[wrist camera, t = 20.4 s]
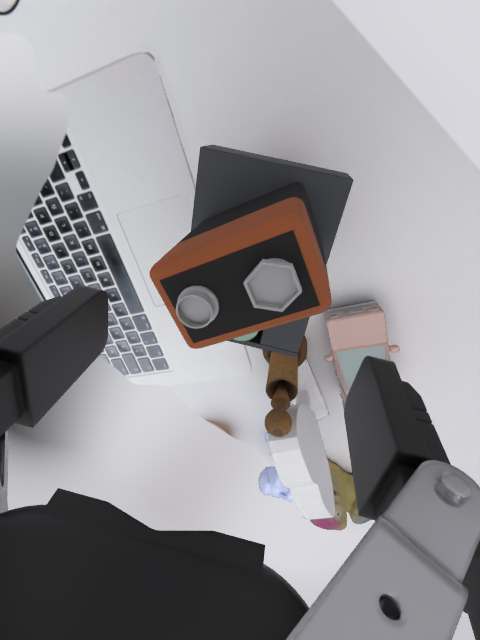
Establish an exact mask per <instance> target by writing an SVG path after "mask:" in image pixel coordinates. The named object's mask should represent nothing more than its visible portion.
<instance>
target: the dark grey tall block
mask: <svg viewBox="0 0 480 640" xmlns="http://www.w3.org/2000/svg"><path fill="white" fill-rule="evenodd" d="M293 182H299V183H301V184H303V186H304V188H305V191H306V194H307V197H308V200H309V203H310V206H311V209H312V212H313V215H314V218H315V221H316V224H317V227H318V230H319V233H320V237H321V240H322V243H323V249H324V255H325V261H326V264H327V261H328V258H329V255H330V251H331V248H332V245H333V242H334V239H335V236H336V233H337V230H338V226H339V223H340V220H341V217H342V214H343V211H344V208H345V204H346V201H347V198H348V195H349V192H350V189H351V186H352V183H353V179H352V178H351V177H350V176H349V175H348V174H347V173H343V172H338V171H334V170H329V169H324V168H319V167H315V166H310V165H305V164H301V163H296V162H291V161H287V160H282V159H277V158H272V157H268V156H263V155H258V154H254V153H249V152H244V151H240V150H235V149H230V148H226V147H221V146H216V145H209V146H203V147H201V148H200V155H199V164H198V173H197V182H196V191H195V200H194V209H193V218H192V227H191V231H192V230H193V229H195V228H196V227H197V226H198V225H199V224H200V223H201V222H202V221H204V220H206V219H208V218H210V217H212V216H215V215H217V214H219V213H222V212H224V211H226V210H229V209H231V208H234V207H236V206H238V205H241V204H243V203H245V202H248V201H250V200H253V199H255V198H257V197H260V196H262V195H264V194H267V193H269V192H271V191H274V190H276V189H279V188H281V187H283V186H286V185H288V184H291V183H293ZM309 317H310V316H309ZM309 317H305V318H302V319H299V320H295V321H292V322H288V323H285V324H281V325H278V326H275V327H271V328H268V329H264V330H261V331H258V333H257V335H256V336H255V337H254V338H252V339H250V340H247V341H238V340H235V339H230V340H227V341H231V342H235V343H239V344H243V345H247V346H251V347H256V348H260V349H264V350H268V351H272V352H276V353H280V354H284V355H289V356H293V357H297V355H298V352H299V349H300V346H301V342H302V339H303V336H304V333H305V330H306V327H307V324H308V320H309Z"/></svg>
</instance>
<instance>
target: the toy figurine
mask: <svg viewBox="0 0 480 640" xmlns="http://www.w3.org/2000/svg"><path fill="white" fill-rule="evenodd" d="M265 440H266V441H267V442H268V432H267V433H266V434H265ZM259 488H260V491H261V492H262V493H263V494H264V495H270V496H272V497H276V498H283V499H284V500H287V501H289V502H291V501H293V498H292V494H291V491H290V488H287V487H285V486H284V485H283V483H282V481H281V479H280V477H279V475H278V473H277V470H276V468H275V466H272V467H271V466H270V467H266V468H265V469H264V470H263V471H262V472H261V474H260V476H259Z"/></svg>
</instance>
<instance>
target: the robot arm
mask: <svg viewBox="0 0 480 640" xmlns="http://www.w3.org/2000/svg"><path fill="white" fill-rule="evenodd" d="M107 338H108V296H107V293H106V292H105V291H103V290H99V289H95V288H91V287H87V286H83V285H79V286H77V287H76V288H74V289H73V290H71V291H70V292H68V293H67V294H65V295H64V296H62V297H60V296H59V297H55V298H52V299H49V300H46V301H43V302H41V303H39V304H38V305H36V306H35V307H33V308H32V309H30V310H29V312H25V313H24V314H23V315H21V316H19V317H18V319H15V320H13V321H12V322H10V323H9V324H7V325H6V326H4V327H3V328H1V329H0V640H452V638H453V635H454V633H455V630H456V627H457V625H458V622H459V619H460V617H461V614H462V612H463V611H464V612H465V613H467V614H468V615H469V619H470V622H471V626H472V629H473V633H474V636H475V639H476V640H480V487H479V486H478V484H477V483H476V482H475V481H474V480H473V479H471V478H470V477H469V476H468V475H467V474H465V473H464V472H463V471H461V470H459V469H458V468H456V467H454V466H452V465H451V464H450V462H449V460H448V457H447V455H446V453H445V450H444V448H443V446H442V444H441V441H440V439H439V437H438V434H437V432H436V430H435V428H434V425H432V424H431V423H432V421H431V419H430V416H429V414H428V413H426V411H427V409H426V407H425V405H424V403H423V400H422V398H421V396H420V395H419V394H418V393H417V392H416V391H415V389H414V388H413V387H412V386H411V385H410V384H409V383H408V382H404V381H401V378H400V376H399V373H398V371H397V368H396V365H395V363H394V362H392V361H389V360H384V359H380V358H376V357H372V356H366V357H365V358H364V359H363V361H362V363H361V365H360V368H359V370H358V372H357V374H356V377H355V379H354V381H353V383H352V386H351V388H350V390H349V393H348V395H347V398H346V402H345V408H344V417H345V424H346V431H347V438H348V445H349V452H350V459H351V466H352V473H353V480H354V487H355V494H356V502H357V509H358V516H361V517H365V518H368V519H372V520H375V523H374V524H373V525H372V527H371V528H370V529H369V531H368V532H367V533H366V535H365V536H364V537H363V539H362V540H361V541H360V543H359V544H358V545H357V546H356V548H355V549H354V550H353V552H352V553H351V554H350V556H349V557H348V558H347V560H346V561H345V562H344V564H343V565H342V566H341V568H340V569H339V570H338V571H337V573H336V574H335V575H334V577H333V578H332V579H331V581H330V582H329V583H328V585H327V586H326V587H325V589H324V590H323V591H322V593H321V594H320V595H319V596H318V598H317V599H316V601H315V602H314V603H313V604H312V606H311V607H310V608H309V607H308V606H307V604H306V603H305V601H304V600H303V599H302V598H301V596H300V595H299V594H298V593H297V592H296V590H295V589H294V588H293V587H292V586H291V585H290V584H289V583H288V582H287V581H286V580H285V579H284V578H283V577H281V576H280V575H279V574H277V573H276V572H275V571H274V570H272V569H271V568H269V567H268V566H266V565H264V564H263V561H264V550H265V545H263V544H259V543H256V542H252V541H248V540H245V539H241V538H237V537H234V536H230V535H226V534H223V533H219V532H216V531H157V530H154V529H151V528H149V527H148V526H146V525H144V524H143V523H141V522H140V521H138V520H136V519H135V518H133V517H131V516H130V515H128V514H127V513H125V512H123V511H122V510H120V509H118V508H117V507H115V506H114V505H112V504H110V503H109V502H106V501H102V500H99V499H95V498H91V497H88V496H84V495H80V494H77V493H73V492H70V491H66V490H63V489H59V488H58V489H57V491H56V492H55V493H54V495H53V496H52V498H51V499H50V501H49V502H48V504H47V505H36V506H27V507H22V508H17V509H13V510H9V511H8V505H7V481H8V480H7V479H8V434H7V430H8V429H9V428H10V427H11V426H12V425H13V424H14V423H18V424H21V425H25V426H28V427H34V426H35V424H37V423H38V421H39V420H40V419H41V418H42V417H43V416H44V415H45V414H46V413H47V411H49V409H50V408H51V407H52V406H53V405H54V404H55V403H56V402H57V401H58V399H60V397H61V396H62V395H63V394H64V393H65V392H66V391H67V390H68V389H69V388H70V386H71V385H72V384H73V383H74V382H75V381H76V380H77V379H78V378H79V377H80V375H81V374H82V373H83V372H84V371H85V370H86V369H87V368H88V367H89V366H90V364H92V362H93V361H94V360H95V359H96V358H97V357H98V356H99V355H100V354H101V352H102V351H103V349H104V347H105V345H106V342H107Z"/></svg>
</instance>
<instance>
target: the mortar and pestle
mask: <svg viewBox="0 0 480 640" xmlns="http://www.w3.org/2000/svg"><path fill="white" fill-rule="evenodd" d="M263 355H264V358H265V359H266V361H267V362H268V363H269V364H270V365H269V372H268V379H267V385H266V393H267V395H268V397H269V398H270V399H272V400H271V406H272V407H273V408H274V409H272V410H271V411H270V412H269V413H268V414H267V416H266V418H265V427H266V429H267V431H268V432H269V433H270V434H271V435H272V436H275V437H283V436H285V435H287V434H288V433H289V432H290V430H291V427H292V419H291V417H290V415H289V413H288V412H287V411H286V410H287V409H288V408H289V407H290V401H292V400H293V399H295V398H296V396H297V394H298V367H299V366H300V365H301V364H302V363H303V362H304V361H305V359H306V356H307V342H306V338H305V336H303V339H302V342H301V346H300V349H299V352H298V355H297V357H293V356H289V355H284V354H280V353H276V352H272V351H268V350H264V349H263Z"/></svg>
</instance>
